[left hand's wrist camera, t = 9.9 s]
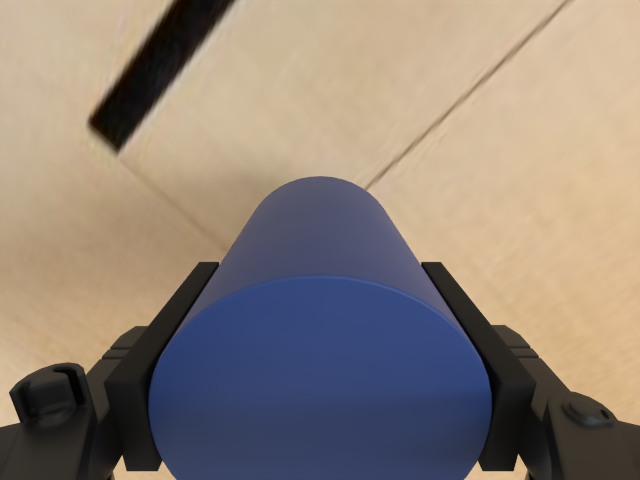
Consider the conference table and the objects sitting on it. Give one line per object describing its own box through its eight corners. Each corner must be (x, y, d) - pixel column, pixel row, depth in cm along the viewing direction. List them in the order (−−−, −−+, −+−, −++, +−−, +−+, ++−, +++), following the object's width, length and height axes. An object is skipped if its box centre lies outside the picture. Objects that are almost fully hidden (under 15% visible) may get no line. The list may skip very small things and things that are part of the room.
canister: (398, 308, 20) (487, 528, 9) (259, 323, 20) (194, 550, 10) (391, 166, 17) (503, 253, 7) (230, 186, 17) (96, 298, 7)
